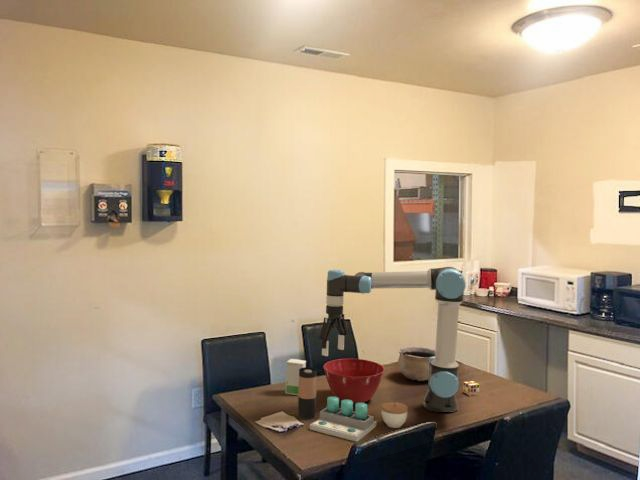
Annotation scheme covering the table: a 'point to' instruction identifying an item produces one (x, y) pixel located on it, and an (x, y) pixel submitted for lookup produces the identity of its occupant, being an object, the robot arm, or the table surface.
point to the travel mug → (307, 392)
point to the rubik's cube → (471, 387)
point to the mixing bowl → (353, 378)
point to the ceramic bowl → (415, 362)
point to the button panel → (343, 425)
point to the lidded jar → (394, 414)
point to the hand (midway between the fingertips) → (333, 352)
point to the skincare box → (293, 375)
